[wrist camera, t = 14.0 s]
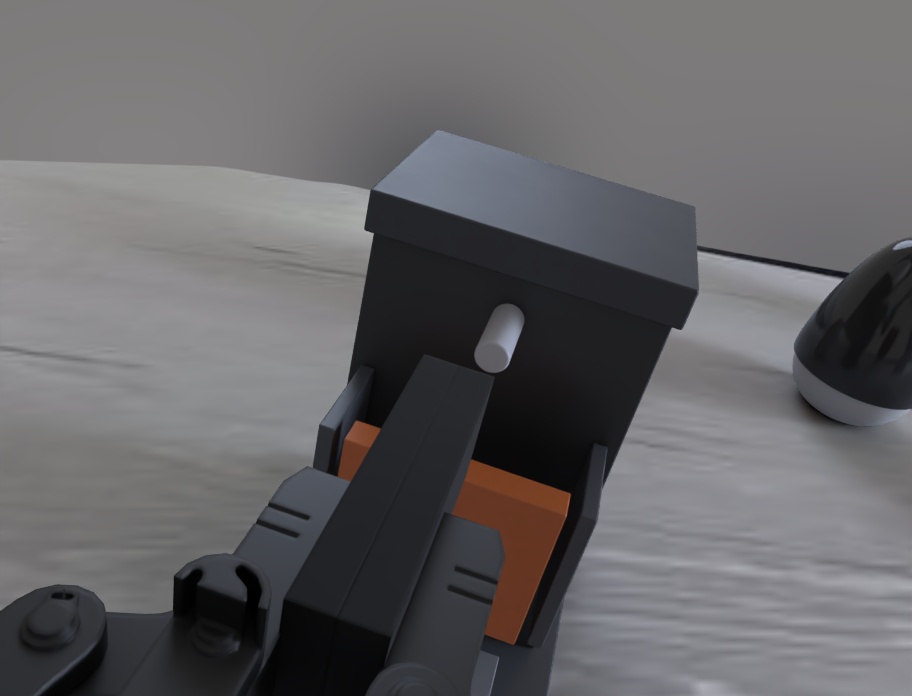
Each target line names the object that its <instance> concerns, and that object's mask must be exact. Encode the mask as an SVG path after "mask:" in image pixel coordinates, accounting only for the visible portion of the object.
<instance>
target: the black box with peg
mask: <svg viewBox="0 0 912 696" xmlns="http://www.w3.org/2000/svg"><path fill="white" fill-rule="evenodd" d="M364 229H365V230H366V231H369V232H372V233H374V236H373V242H372V247H371V253H370V259H369V264H368V270H367V276H366V281H365V287H364V292H363V298H362V304H361V309H360V315H359V321H358V326H357V332H356V338H355V343H354V349H353V355H352V360H351V366H350V372H349V377H348V383H347V386H346V388H345V389H344V391H343V392H342V394H341V395H340V396H339V398H338V399H337V401H336V402H335V404H334V405H333V406H332V408H331V409H330V411H329V412H328V414H327V415H326V416H325V418H324V419H323V421H322V422H321V424H320V425H319V430H318V437H317V443H316V449H315V456H314V462H313V469H316V470H319V471H322V472H325V473H328V474H331V475H334V476H337V477H338V472H339V466H340V461H341V455H342V450H343V444H344V439H345V438H346V436H347V434H348V433H349V431H350V430H351V428H352V427H353V425H354V423H355V422H356V421H360V422H363V423H366V424H369V425H372V426H374V427H377V428H380V429H381V428H382V426H383V425H384V423H385V421H386V419H387V418H388V416H389V414H390V412H391V411H392V409H393V407H394V405H395V404H396V402H397V400H398V398H399V397H400V395H401V393H402V392H403V390H404V388H405V386H406V385H407V383H408V381H409V379H410V378H411V376H412V374H413V372H414V371H415V369H416V367H417V365H418V364H419V362H420V360H421V358H422V357H423V355H424V354H426V355H429V356H432V357H435V358H438V359H441V360H444V361H447V362H450V363H453V364H457V365H460V366H463V367H466V368H469V369H472V370H475V371H478V372H481V373H484V374H487V375H490V376H494V377H495V378H494V382H493V385H492V389H491V392H490V395H489V399H488V402H487V406H486V409H485V413H484V416H483V419H482V423H481V426H480V430H479V433H478V437H477V440H476V443H475V447H474V450H473V454H472V457H471V460H474V461H477V462H480V463H483V464H486V465H489V466H491V467H494V468H497V469H500V470H503V471H506V472H509V473H512V474H515V475H518V476H521V477H524V478H527V479H529V480H532V481H535V482H538V483H541V484H544V485H547V486H550V487H553V488H556V489H559V490H562V491H565V492H567V493H570V495H571V496H570V501H569V506H568V512H567V516H566V519H565V521H564V524H563V526H562V529H561V531H560V534H559V536H558V538H557V541H556V543H555V546H554V548H553V551H552V553H551V556H550V558H549V561H548V563H547V565H546V568H545V570H544V573H543V575H542V578H541V580H540V583H539V585H538V587H537V590H536V592H535V595H534V597H533V600H532V602H531V605H530V607H529V610H528V612H527V614H526V617H525V619H524V622H523V624H522V627H521V629H520V632H519V634H518V636H517V639H516V641H515V644H514V645H512V644H509V643H507V642H504V641H501V640H498V639H496V638H493V637H490V636H487V635H485V634H484V637H483V641H482V645H481V649H480V652H479V656H478V660H477V663H476V667H475V671H474V674H473V678H472V685H471V696H547V694H548V688H549V683H550V677H551V671H552V665H553V659H554V653H555V647H556V642H557V636H558V630H559V624H560V618H561V612H562V606H563V600H564V596H565V594H566V592H567V589H568V587H569V585H570V583H571V580H572V578H573V576H574V573H575V571H576V569H577V567H578V564H579V562H580V560H581V558H582V555H583V553H584V551H585V548H586V546H587V544H588V542H589V539H590V537H591V535H592V533H593V530H594V528H595V526H596V523H597V521H598V514H599V507H600V499H601V492H602V489H603V486H604V484H605V482H606V479H607V477H608V475H609V472H610V470H611V468H612V465H613V463H614V461H615V459H616V456H617V454H618V452H619V449H620V447H621V445H622V442H623V440H624V438H625V435H626V433H627V431H628V428H629V426H630V424H631V421H632V419H633V417H634V414H635V412H636V410H637V407H638V405H639V403H640V401H641V398H642V396H643V394H644V391H645V389H646V387H647V384H648V382H649V380H650V377H651V375H652V373H653V370H654V368H655V366H656V363H657V361H658V359H659V356H660V354H661V352H662V350H663V347H664V345H665V343H666V340H667V338H668V336H669V333H670V331H671V329H672V328H676V329H679V330H682V329H683V327H684V325H685V323H686V320H687V318H688V316H689V314H690V311H691V309H692V307H693V305H694V302H695V300H696V298H697V295H698V293H699V284H698V261H697V239H696V216H695V207H694V206H690V205H687V204H684V203H681V202H677V201H674V200H671V199H667V198H664V197H661V196H657V195H654V194H651V193H647V192H644V191H640V190H637V189H634V188H630V187H627V186H624V185H620V184H617V183H614V182H611V181H607V180H604V179H600V178H597V177H594V176H590V175H587V174H584V173H580V172H577V171H574V170H570V169H567V168H564V167H560V166H557V165H554V164H550V163H547V162H544V161H540V160H537V159H534V158H530V157H527V156H524V155H520V154H517V153H513V152H510V151H506V150H504V149H500V148H497V147H494V146H490V145H487V144H484V143H480V142H477V141H473V140H470V139H467V138H464V137H460V136H457V135H454V134H450V133H447V132H443V131H440V130H436V131H435V132H434V133H433V134H432V135H431V136H429V137H428V138H427V139H426V140H425V141H424V142H423V143H422V144H421V145H419V147H417V148H416V149H415V150H414V151H413V152H412V153H411V154H410V155H409V156H407V157H406V158H405V159H404V160H403V161H402V162H401V163H400V164H399V165H398V166H396V168H394V169H393V170H392V171H391V172H390V173H389V174H388V175H387V176H385V177H384V178H383V179H382V180H381V181H380V182H379V183H378V184H377V185H375V186H374V187H373V188H372V189H371V191H370V197H369V203H368V209H367V215H366V221H365V227H364Z"/></svg>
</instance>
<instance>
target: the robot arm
mask: <svg viewBox="0 0 912 696" xmlns="http://www.w3.org/2000/svg"><path fill="white" fill-rule="evenodd" d="M494 378H495V377H494V376H490V375H487V374H484V373H481V372H478V371H475V370H472V369H469V368H466V367H463V366H460V365H457V364H453V363H450V362H447V361H444V360H441V359H438V358H435V357H432V356H429V355H426V354H424V355H423V357H422V358H421V360H420V362H419V364H418V365H417V367H416V369H415V371H414V372H413V374H412V376H411V378H410V379H409V381H408V383H407V385H406V386H405V388H404V390H403V392H402V393H401V395H400V397H399V398H398V400H397V402H396V404H395V405H394V407H393V409H392V411H391V412H390V414H389V416H388V418H387V419H386V421H385V423H384V425H383V426H382V428H381V430H380V432H379V433H378V435H377V437H376V438H375V440H374V442H373V444H372V445H371V447H370V449H369V451H368V452H367V454H366V456H365V458H364V459H363V461H362V463H361V465H360V466H359V468H358V470H357V472H356V473H355V475H354V477H353V479H352V480H351V481H348V480H345V479H342V478H340V477H337V476H334V475H331V474H328V473H325V472H322V471H319V470H316V469H313V468H311V467H308V466H307V467H306V468H304V469H302V470H301V471H299V472H297V473H296V474H294V475H293V476H291V477H289V478H288V479H286V480H284V481H283V483H282V484H281V485H280V487H279V488H278V490H277V491H276V493H275V494H274V496H273V497H272V498H271V500H270V501H269V504H268V506H266V507H265V509H264V510H263V512H262V513H261V514H260V516H259V517H258V519H257V522H256V524H254V525H253V526H252V527H251V529H250V530H249V532H248V533H247V535H246V536H245V538H244V539H243V540H242V542H241V543H240V545H239V546H238V548H237V549H236V551H235V552H234V553H233V555H232V554H226V553H224V554H215V555H206V556H203V557H201V558H199V559H196V560H194V561H192V562H189V563H187V564H186V565H185V566H184V567H183V568H182V569H181V570H180V571H179V572H177V573H176V574H175V575H174V593H173V611H170V612H165V613H160V614H134V613H115V612H105V606H104V604H103V602H102V601H101V600H100V599H99V598H98V597H97V596H96V595H95V593H94V592H91V591H89V590H87V589H84V588H82V587H79V586H75V585H58V584H57V585H53V586H48V587H44V588H39V589H36V590H34V591H32V592H30V593H28V594H26V595H24V596H22V597H20V598H19V599H17V600H15V601H14V602H13V603H11V604H10V605H8V606H7V607H6V608H4V609H3V610H1V611H0V696H471V685H472V678H473V674H474V671H475V667H476V663H477V660H478V656H479V652H480V649H481V645H482V641H483V637H484V634H485V630H486V626H487V623H488V619H489V615H490V612H491V608H492V604H493V601H494V597H495V593H496V590H497V585H498V582H499V579H500V575H501V571H502V568H503V564H504V560H505V552H504V547H503V543H502V539H501V534H500V531H499V530H496V529H493V528H490V527H487V526H484V525H481V524H478V523H475V522H473V521H470V520H467V519H464V518H461V517H458V516H455V515H452V512H453V509H454V507H455V504H456V502H457V499H458V496H459V494H460V491H461V488H462V486H463V483H464V480H465V478H466V474H467V471H468V468H469V464H470V461H471V457H472V454H473V450H474V447H475V443H476V440H477V437H478V433H479V430H480V426H481V423H482V419H483V416H484V413H485V409H486V406H487V402H488V399H489V395H490V392H491V389H492V385H493V382H494Z"/></svg>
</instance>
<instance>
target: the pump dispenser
mask: <svg viewBox="0 0 912 696" xmlns="http://www.w3.org/2000/svg"><path fill="white" fill-rule="evenodd" d="M794 351H795V353H794V358H793V376H794V380H795V383H796V386H797V388H798V390H799V391H800V393H801V394H802V396H803V397H804V398H805V399H806V400H807V401H808V402H809V403H810V404H811V405H812V406H813V407H814V408H816V409H817V410H818V411H820V412H821V413H823V414H824V415H826V416H828V417H830V418H832V419H834V420H837V421H839V422H842V423H846V424H850V425H854V426H863V427H871V426H879V425H883V424H887V423H889V422H892V421H894V420H896V419H898V418H900V417H901V416H903V415H904V414H905V413H907V412H908V411H909V410H910V409H912V236H909V237H904V238H901V239H898V240H896V241H893V242H892V243H890V244H888V245H886V246H884V247H883V248H881V249H880V250H878V251H876V252H875V253H874V254H872V255H871V256H870V257H869V258H867V259H866V260H864V261H863V262H862V263H861V264H860V265H859V266H857V267H856V268H855V269H854V270H853V271H852V272H851V273H850V274H849V275H848V276H847V277H846V278H845V279H844V280H843V281H842V282H841V283H840V284H839V285H838V286H837V287H836V288H835V289H834V290H833V291H832V292H831V293H830V294H829V295H828V296H827V297H826V298H825V300H824V301H823V302H822V303H821V304H820V306H819V307H818V308H817V309H816V311H815V312H814V313H813V315H812V316H811V317H810V318H809V320H808V321H807V322H806V324H805V325H804V327H803V328H802V330H801V331H800V333H799V335H798V336H797V338H796V340H795V343H794Z"/></svg>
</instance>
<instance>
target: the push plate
mask: <svg viewBox="0 0 912 696" xmlns="http://www.w3.org/2000/svg"><path fill="white" fill-rule="evenodd" d="M380 430H381V429H380V428H377V427H374V426H372V425H369V424H366V423H363V422H360V421H356V422H355V423H354V425H353V427H352V428H351V430H350V431H349V433H348V434H347V436H346V438H345V439H344V444H343V450H342V455H341V461H340V466H339V472H338V477H340V478H342V479H345V480H348V481H351V480H352V479H353V477H354V475H355V473H356V472H357V470H358V468H359V466H360V465H361V463H362V461H363V459H364V458H365V456H366V454H367V452H368V451H369V449H370V447H371V445H372V444H373V442H374V440H375V438H376V437H377V435H378V433H379V432H380ZM570 496H571V495H570V493H567V492H565V491H562V490H559V489H556V488H553V487H550V486H547V485H544V484H541V483H538V482H535V481H532V480H529V479H527V478H524V477H521V476H518V475H515V474H512V473H509V472H506V471H503V470H500V469H497V468H494V467H491V466H489V465H486V464H483V463H480V462H477V461H474V460H471V461H470V464H469V468H468V471H467V474H466V478H465V480H464V483H463V486H462V488H461V491H460V494H459V496H458V499H457V502H456V504H455V507H454V509H453V512H452V515H455V516H458V517H461V518H464V519H467V520H470V521H473V522H475V523H478V524H481V525H484V526H487V527H490V528H493V529H496V530H499V531H500V534H501V539H502V543H503V547H504V552H505V560H504V564H503V568H502V571H501V575H500V579H499V582H498V585H497V590H496V593H495V597H494V601H493V604H492V608H491V612H490V615H489V619H488V623H487V626H486V630H485V635H487V636H490V637H493V638H496V639H498V640H501V641H504V642H507V643H509V644H512V645H514V644H515V641H516V639H517V636H518V634H519V632H520V629H521V627H522V624H523V622H524V619H525V617H526V614H527V612H528V610H529V607H530V605H531V602H532V600H533V597H534V595H535V592H536V590H537V587H538V585H539V583H540V580H541V578H542V575H543V573H544V570H545V568H546V565H547V563H548V561H549V558H550V556H551V553H552V551H553V548H554V546H555V543H556V541H557V538H558V536H559V534H560V531H561V529H562V526H563V524H564V521H565V519H566V516H567V512H568V506H569V501H570Z"/></svg>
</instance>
